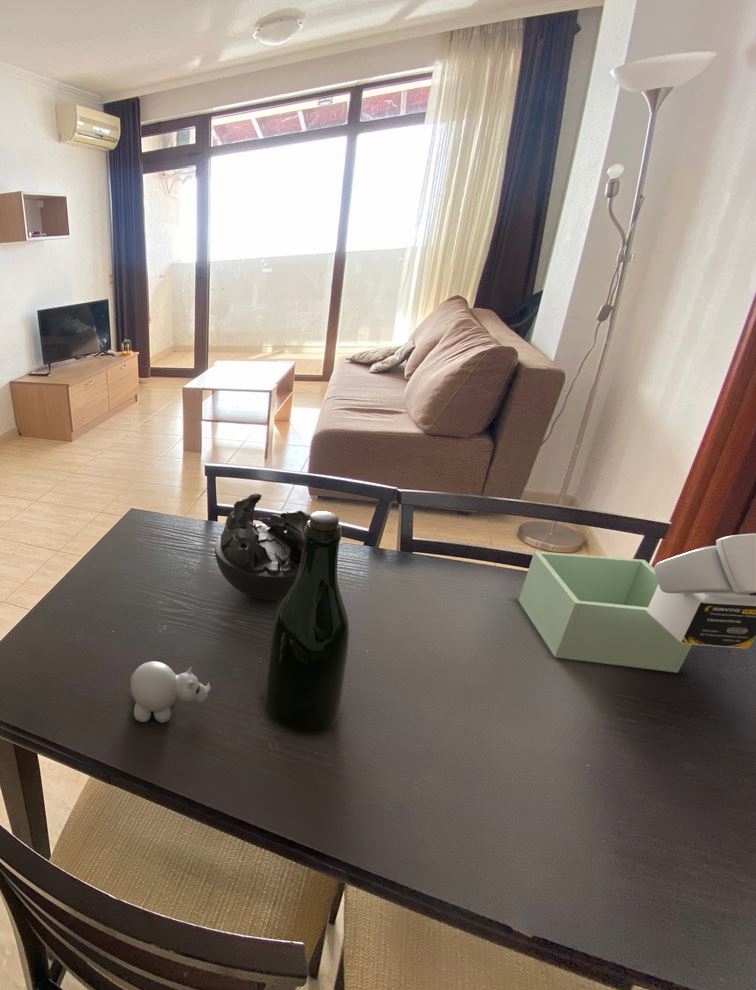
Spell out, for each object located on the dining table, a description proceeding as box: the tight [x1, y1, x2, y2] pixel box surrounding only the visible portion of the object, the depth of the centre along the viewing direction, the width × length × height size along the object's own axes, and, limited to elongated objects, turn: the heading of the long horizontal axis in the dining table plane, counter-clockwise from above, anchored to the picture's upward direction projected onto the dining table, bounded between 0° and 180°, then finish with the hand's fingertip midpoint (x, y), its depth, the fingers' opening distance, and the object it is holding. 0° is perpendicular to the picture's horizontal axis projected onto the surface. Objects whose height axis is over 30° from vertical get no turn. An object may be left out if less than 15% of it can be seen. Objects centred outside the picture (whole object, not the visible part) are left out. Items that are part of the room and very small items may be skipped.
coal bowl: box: [214, 492, 311, 601], centre depth 105 cm, size 20×20×19 cm
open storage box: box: [518, 550, 693, 674], centre depth 89 cm, size 16×16×11 cm
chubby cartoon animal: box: [129, 660, 212, 724], centre depth 81 cm, size 7×12×8 cm, turn 83°
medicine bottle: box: [647, 545, 756, 650], centre depth 70 cm, size 7×7×12 cm
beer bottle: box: [264, 510, 350, 734], centre depth 74 cm, size 10×10×33 cm
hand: (709, 586), depth 70 cm, fingers closed on medicine bottle, 7 cm apart
